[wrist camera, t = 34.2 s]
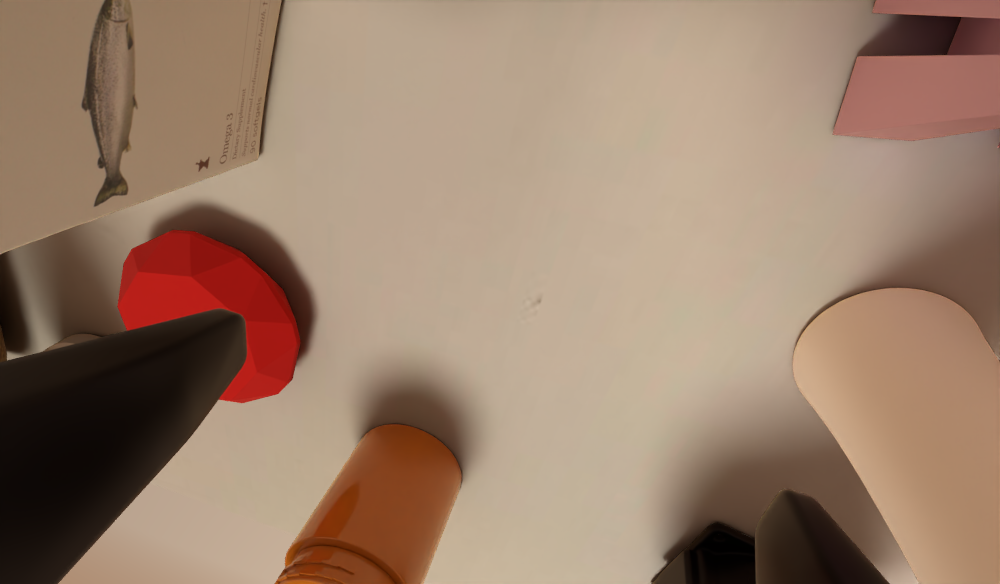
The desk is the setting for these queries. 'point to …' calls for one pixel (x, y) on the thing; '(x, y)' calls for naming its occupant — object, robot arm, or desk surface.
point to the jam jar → (379, 513)
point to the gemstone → (214, 303)
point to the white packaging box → (123, 103)
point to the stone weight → (2, 348)
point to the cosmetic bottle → (914, 422)
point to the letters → (929, 79)
